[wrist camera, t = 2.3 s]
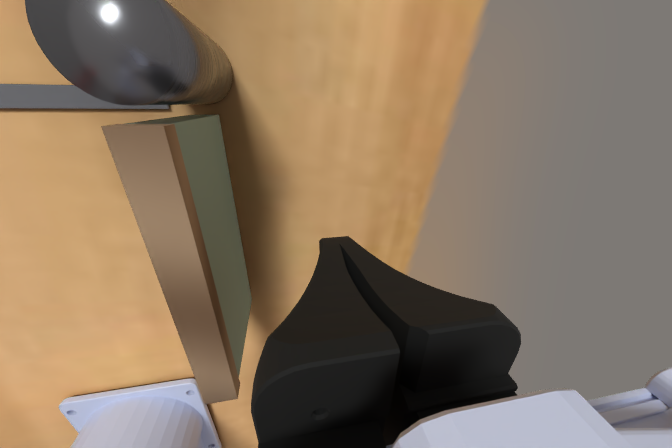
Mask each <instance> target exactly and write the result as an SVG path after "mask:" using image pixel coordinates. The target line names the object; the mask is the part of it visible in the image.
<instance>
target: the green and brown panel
mask: <svg viewBox="0 0 672 448" xmlns="http://www.w3.org/2000/svg"><path fill="white" fill-rule="evenodd" d="M101 127H102V130H103V133H104V135H105V138H106V141H107V143H108V146H109V149H110V151H111V154H112V157H113V159H114V162H115V165H116V168H117V170H118V173H119V176H120V178H121V181H122V184H123V186H124V189H125V192H126V194H127V197H128V200H129V202H130V205H131V208H132V210H133V213H134V216H135V218H136V221H137V224H138V226H139V229H140V232H141V235H142V237H143V240H144V243H145V245H146V248H147V251H148V253H149V256H150V259H151V261H152V264H153V267H154V269H155V272H156V275H157V277H158V280H159V283H160V285H161V288H162V291H163V293H164V296H165V299H166V302H167V304H168V307H169V310H170V312H171V315H172V318H173V320H174V323H175V326H176V328H177V331H178V334H179V336H180V339H181V342H182V344H183V347H184V350H185V352H186V355H187V358H188V360H189V363H190V366H191V368H192V371H193V374H194V377H195V379H196V382H197V385H198V387H199V390H200V393H201V395H202V398H203V401H204V403H205V404H211V403H216V402H222V401H228V400H233V399H238V393H239V387H240V381H239V373H240V367H241V361H242V355H243V349H244V343H245V337H246V331H247V326H248V320H249V314H250V308H251V302H252V297H251V292H250V286H249V281H248V275H247V269H246V264H245V258H244V253H243V247H242V241H241V236H240V230H239V225H238V219H237V213H236V208H235V202H234V197H233V191H232V185H231V180H230V174H229V169H228V163H227V158H226V152H225V146H224V141H223V135H222V130H221V124H220V118H219V115H186V116H179V117H172V118H164V119H157V120H149V121H142V122H134V123H127V124H115V125H107V126H101Z"/></svg>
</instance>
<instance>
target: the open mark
mask: <svg viewBox="0 0 672 448" xmlns="http://www.w3.org/2000/svg"><path fill="white" fill-rule="evenodd" d="M0 108H88V109H170V108H169V105H118V104H113V103H109V102H106V101H103V100H100V99H98V98H96V97H93V96H91V95H89V94H88V93H86V92H84V91H82V90H81V89H79V88H78V87H76V86H75V85H32V84H0Z"/></svg>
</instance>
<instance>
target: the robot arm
mask: <svg viewBox="0 0 672 448" xmlns="http://www.w3.org/2000/svg"><path fill="white" fill-rule="evenodd" d="M319 245H320V254H319V258H318V262H317V265H316V268H315V271H314V274H313V276H312V278H311V281H310V283H309V285H308V287H307V288H306V290H305V292H304V294H303V295H302V297H301V299H300V300H299V302H298V303H297V304H296V306H295V307H294V308H293V310H292V311H291V312H290V314H289V315H288V316H287V318H286V319H285V320H284V321H283V322H282V323H281V324H280V325H279V326H278V327H277V328H276V330H275V331H274V332H273V333H272V334H271V335H270V336H269V337H268V338H267V341H266V343H265V346H264V348H263V351H262V354H261V357H260V360H259V363H258V366H257V370H256V374H255V378H254V383H253V391H252V401H251V413H252V417H253V422H254V426H255V430H256V434H257V438H258V442H259V444H258V448H672V367H670V368H666V369H663V370H660V371H659V372H657V373H656V374H654V375H653V376H652V377H651V378H650V379H649V381H648V382H647V383H646V387H644V388H640V389H636V390H632V391H627V392H623V393H618V394H614V395H609V396H605V397H600V398H596V399H591V400H587V401H586V400H585V399H584V398H583V397H582V396H581V395H580V394H579V393H578V392H577V391H576V390H572V389H567V388H558V389H545V390H541V391H536V392H531V393H526V394H522V395H517V394H516V393H515V392H514V391H516V390H517V388H518V387H517V384H516V383H515V381H514V380H513V379H512V378H511V377H510V375H509V374H508V372H509V370H510V368H511V366H512V364H513V362H514V360H515V358H516V356H517V354H518V351H519V348H520V345H521V334H520V332H519V330H518V328H517V327H516V326H515V325H514V324H513V323H512V322H511V321H510V320H509V319H508V318H507V317H506V316H505V315H504V314H503V313H502V312H501V311H500V310H499V309H498V308H497V307H495V306H494V305H493V304H489V303H485V302H481V301H477V300H473V299H469V298H465V297H461V296H458V295H455V294H452V293H449V292H446V291H443V290H440V289H437V288H434V287H431V286H429V285H427V284H424V283H422V282H419V281H417V280H415V279H413V278H410V277H409V276H407V275H405V274H403V273H401V272H399V271H397V270H395V269H393V268H392V267H390V266H388V265H387V264H385V263H384V262H382V261H381V260H379V259H378V258H376V257H375V256H373V255H372V254H370V253H369V252H368V251H366V250H365V249H364V248H363V247H361V246H360V245H359V244H357V243H356V242H355V241H354V240H352V239H351V238H350V237H348V236H346V237H333V238H322V239H321V240H320V241H319ZM59 409H60V411H61V412H62V413H63V414H64V416H65V417H66V418H67V419H68V420H69V422H70V423H71V424H72V425H73V427H74V428H75V429H76V430H77V432H78V433H79V434H78V436H77V437H76V439H75V441H74V442H73V444H72V445H71V447H70V448H221V447H222V445H221V442H220V440H219V437H218V434H217V432H216V429H215V426H214V423H213V421H212V418H211V415H210V413H209V410H208V407H207V404H205V403H204V401H203V398H202V395H201V393H200V390H199V387H198V385H197V382H196V379H193V378H188V379H182V380H176V381H169V382H163V383H157V384H150V385H144V386H138V387H131V388H125V389H119V390H112V391H106V392H100V393H93V394H87V395H81V396H75V397H69V398H66V399H64V400H63V401H62V402H61V404H60V405H59Z"/></svg>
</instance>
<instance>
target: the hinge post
mask: <svg viewBox="0 0 672 448" xmlns="http://www.w3.org/2000/svg"><path fill="white" fill-rule="evenodd" d="M25 6H26V13H27V17H28V22H29V24H30V27H31V30H32V33H33V35H34V37H35V39H36V41H37V43H38V45H39V46H40V48H41V50H42V51H43V53H44V54H45V56H46V57H47V58H48V60H49V61H50V62H51V63H52V65H53V66H54V67H55V68H56V69H57V70H58V71H59V72H60V73H61V74H62V75H63V76H64V77H65V78H66V79H67V80H69V81H70V82H71V83H72V84H74V85H75V86H76V87H78V88H79V89H81V90H82V91H84V92H86V93H88V94H89V95H91V96H93V97H96V98H98V99H100V100H103V101H106V102H109V103H113V104H118V105H175V104H212V103H216V102H218V101H220V100H222V99H223V98H224V97H225V96H226V95H227V94H228V92H229V91H230V88H231V85H232V79H233V75H232V68H231V65H230V62H229V60H228V58H227V56H226V54H225V53H224V51H223V50H222V49H221V48H220V47H219V46H218V45H217V44H216V43H215V42H214V41H213V40H211V39H210V38H209V37H208V36H207V35H205V34H204V33H203V32H202V31H201V30H200V29H198V28H197V27H196V26H195V25H194V24H192V23H191V22H190V21H189V20H188V19H187V18H185V17H184V16H183V15H182V14H181V13H179V12H178V11H177V10H176V9H175V8H174V7H172V6H171V5H170V4H169V3H168V2H166V1H165V0H25Z"/></svg>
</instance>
